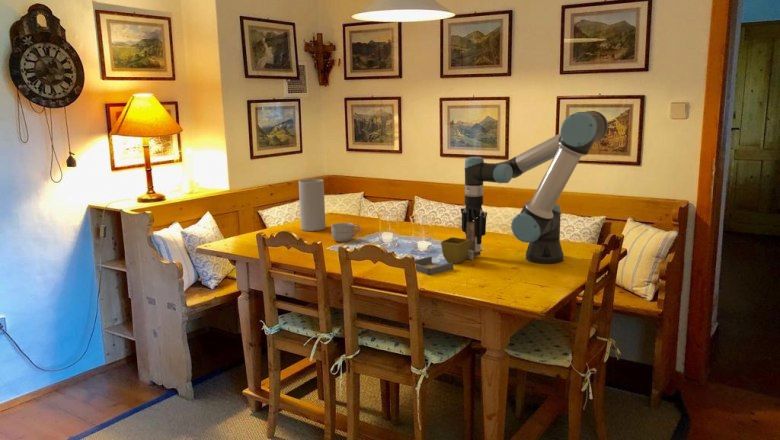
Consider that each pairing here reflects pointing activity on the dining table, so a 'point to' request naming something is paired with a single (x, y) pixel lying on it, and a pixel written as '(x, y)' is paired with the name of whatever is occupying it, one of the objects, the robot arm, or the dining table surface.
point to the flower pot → (455, 249)
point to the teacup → (344, 231)
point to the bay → (434, 269)
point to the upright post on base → (471, 240)
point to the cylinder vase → (312, 204)
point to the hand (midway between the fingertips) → (473, 250)
